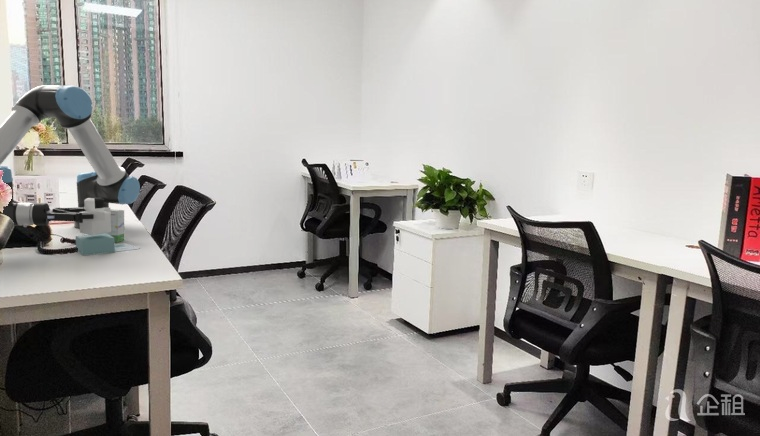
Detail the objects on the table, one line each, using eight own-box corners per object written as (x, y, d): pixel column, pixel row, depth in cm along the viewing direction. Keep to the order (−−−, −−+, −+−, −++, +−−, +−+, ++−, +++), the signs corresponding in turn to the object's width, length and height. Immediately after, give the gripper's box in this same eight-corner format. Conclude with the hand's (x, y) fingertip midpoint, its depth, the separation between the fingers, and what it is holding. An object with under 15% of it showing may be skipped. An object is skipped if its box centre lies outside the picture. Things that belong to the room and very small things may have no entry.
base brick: (76, 249, 196) (75, 235, 195) (107, 246, 202) (106, 233, 201) (82, 255, 188) (81, 240, 187) (114, 252, 194) (114, 237, 193)
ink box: (96, 241, 211) (94, 210, 209) (104, 238, 216) (103, 208, 214) (118, 242, 210) (117, 211, 208) (125, 240, 215) (124, 209, 213)
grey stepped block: (98, 230, 199) (97, 196, 197) (111, 232, 195) (110, 198, 194) (79, 232, 193) (77, 197, 191) (92, 235, 189) (90, 199, 187)
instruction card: (103, 245, 203) (103, 245, 203) (125, 243, 209) (125, 242, 209) (117, 251, 195) (117, 251, 195) (140, 248, 201) (140, 248, 201)
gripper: (44, 219, 199) (113, 219, 205) (24, 231, 178) (101, 230, 184) (43, 198, 198) (113, 198, 204) (22, 207, 177) (101, 207, 183)
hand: (107, 213), depth 194 cm, fingers closed on grey stepped block, 10 cm apart
